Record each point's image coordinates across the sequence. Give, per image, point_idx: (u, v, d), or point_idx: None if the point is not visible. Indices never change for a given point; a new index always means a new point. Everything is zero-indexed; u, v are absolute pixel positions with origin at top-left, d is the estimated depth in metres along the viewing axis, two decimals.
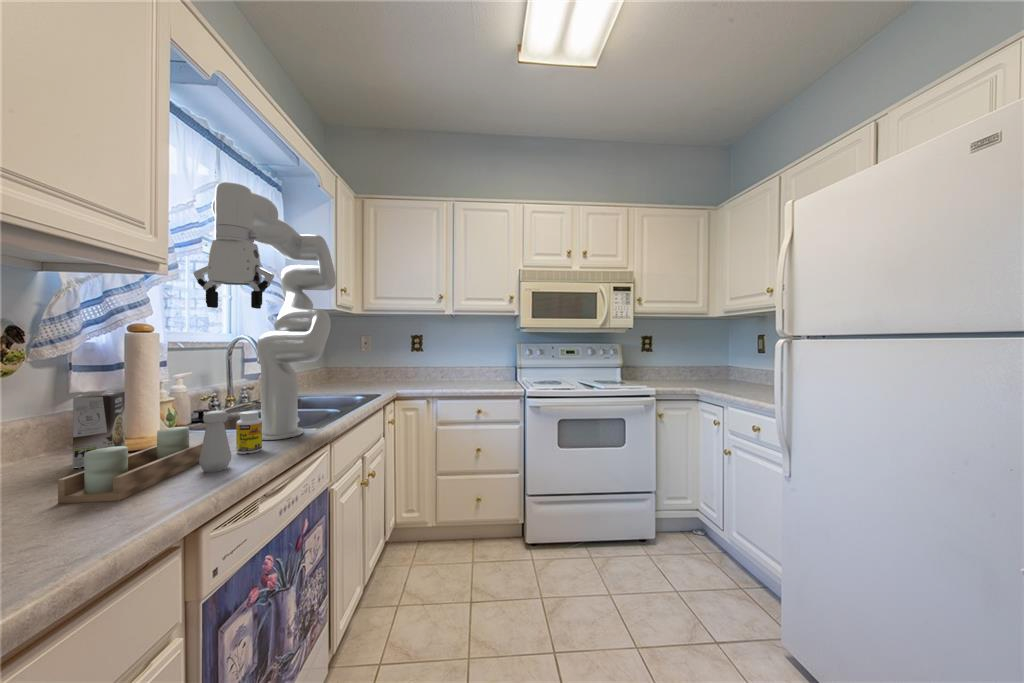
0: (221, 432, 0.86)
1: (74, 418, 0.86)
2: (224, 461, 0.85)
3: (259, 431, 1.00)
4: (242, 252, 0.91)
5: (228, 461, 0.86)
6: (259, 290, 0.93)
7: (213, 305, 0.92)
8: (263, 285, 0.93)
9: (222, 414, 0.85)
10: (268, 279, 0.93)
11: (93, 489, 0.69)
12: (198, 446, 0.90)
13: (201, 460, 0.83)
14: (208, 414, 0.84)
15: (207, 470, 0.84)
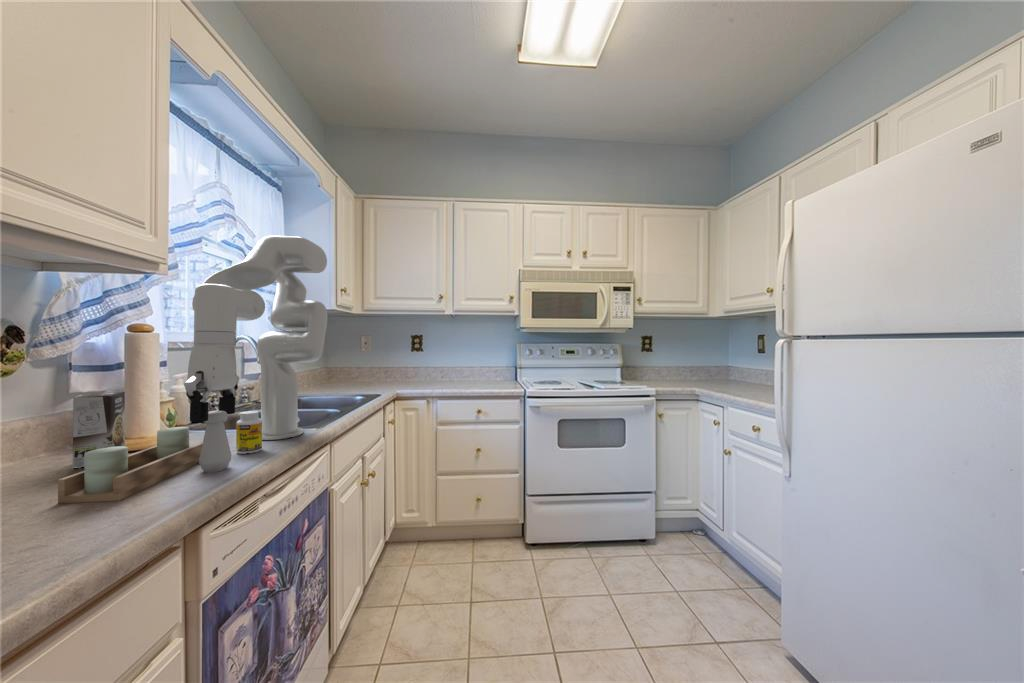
0: (221, 432, 0.86)
1: (74, 418, 0.86)
2: (224, 461, 0.85)
3: (259, 431, 1.00)
4: (233, 358, 0.89)
5: (228, 461, 0.86)
6: None
7: None
8: (235, 389, 0.92)
9: (222, 414, 0.85)
10: (237, 382, 0.93)
11: (93, 489, 0.69)
12: (198, 446, 0.90)
13: (201, 460, 0.83)
14: (208, 414, 0.84)
15: (207, 470, 0.84)
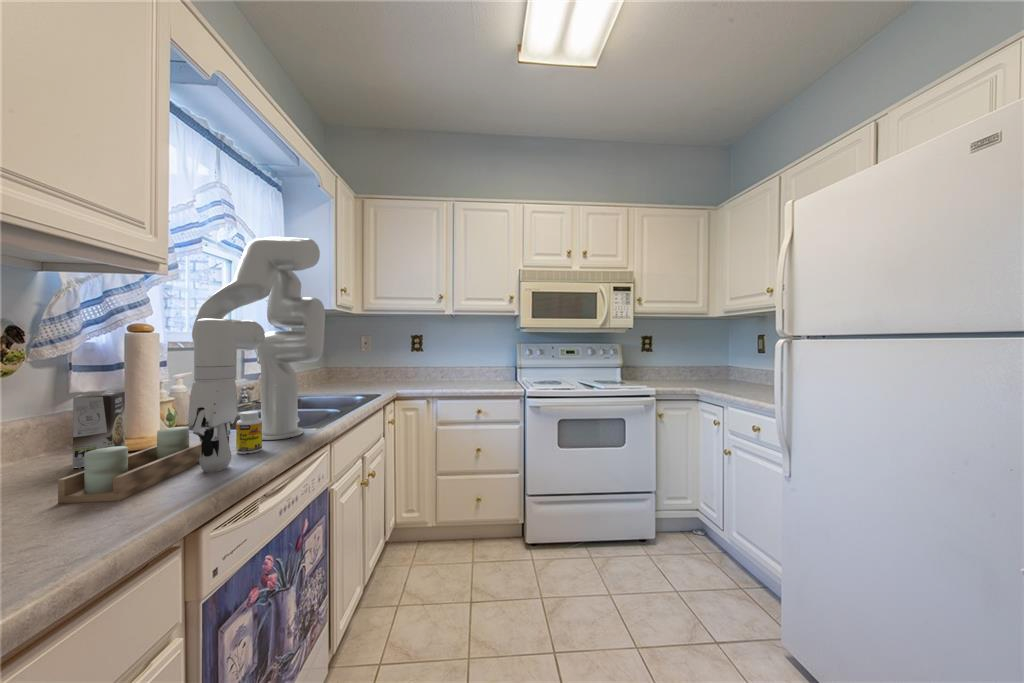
0: (221, 432, 0.86)
1: (74, 418, 0.86)
2: (224, 461, 0.85)
3: (259, 431, 1.00)
4: (234, 390, 0.89)
5: (228, 461, 0.86)
6: None
7: None
8: (229, 427, 0.90)
9: None
10: (232, 422, 0.91)
11: (93, 489, 0.69)
12: (198, 446, 0.90)
13: (201, 460, 0.83)
14: None
15: (207, 470, 0.84)
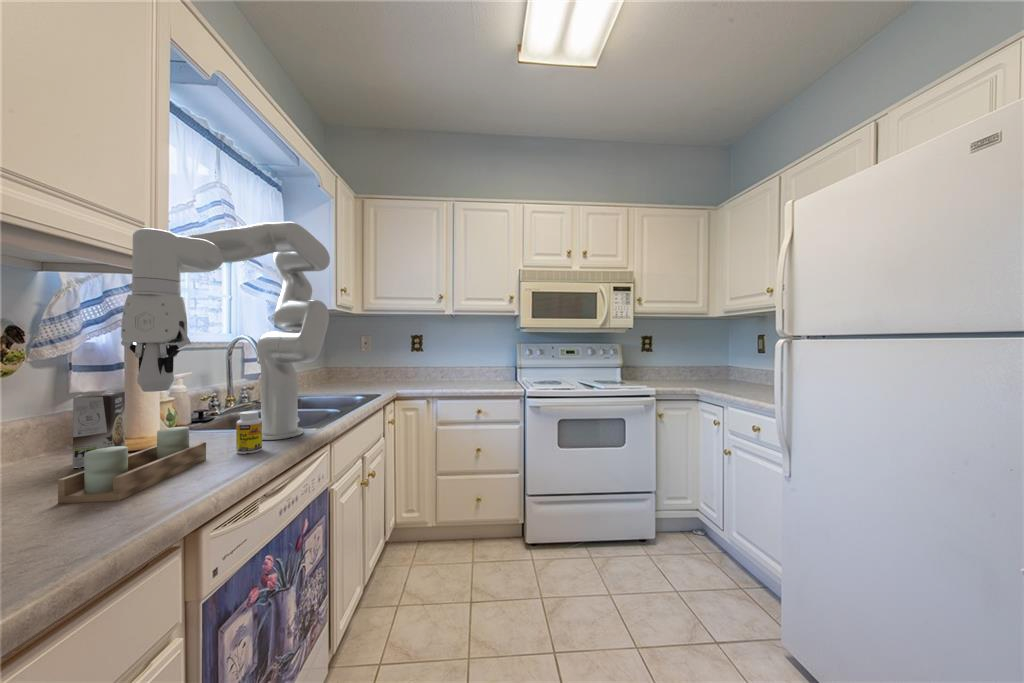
0: None
1: (74, 418, 0.86)
2: None
3: (259, 431, 1.00)
4: None
5: None
6: None
7: None
8: None
9: None
10: None
11: (93, 489, 0.69)
12: (198, 446, 0.90)
13: (162, 377, 0.80)
14: None
15: (164, 388, 0.81)
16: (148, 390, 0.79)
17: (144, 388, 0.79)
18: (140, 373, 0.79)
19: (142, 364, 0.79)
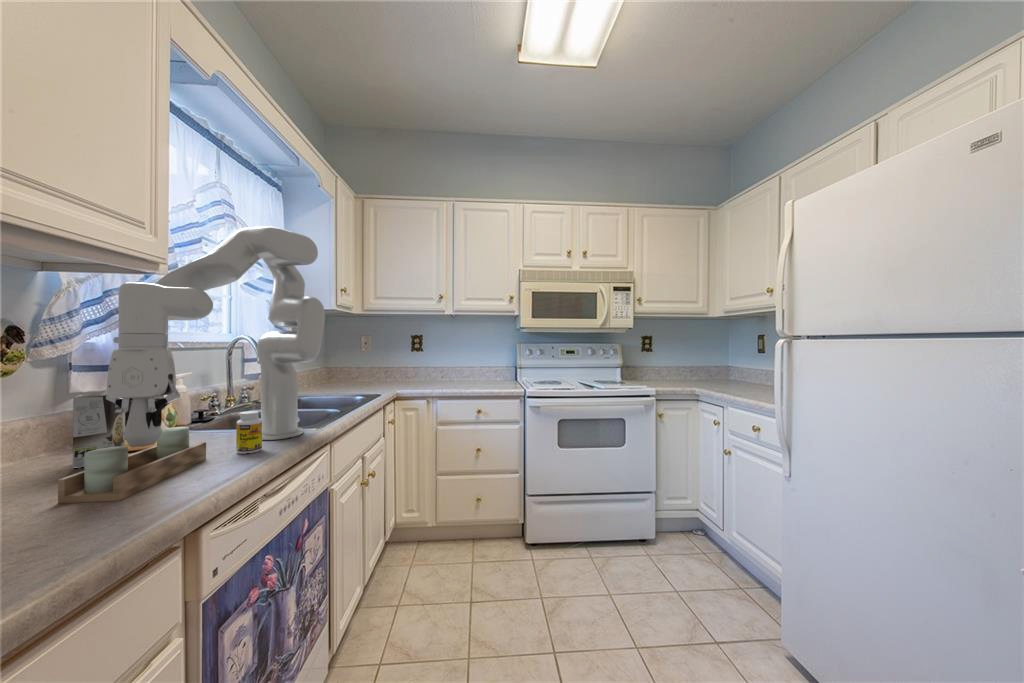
0: None
1: (74, 418, 0.86)
2: None
3: (259, 431, 1.00)
4: None
5: None
6: None
7: None
8: None
9: None
10: None
11: (93, 489, 0.69)
12: (198, 446, 0.90)
13: (150, 432, 0.79)
14: None
15: (152, 442, 0.80)
16: (136, 446, 0.78)
17: (131, 444, 0.78)
18: (127, 429, 0.78)
19: (129, 420, 0.78)
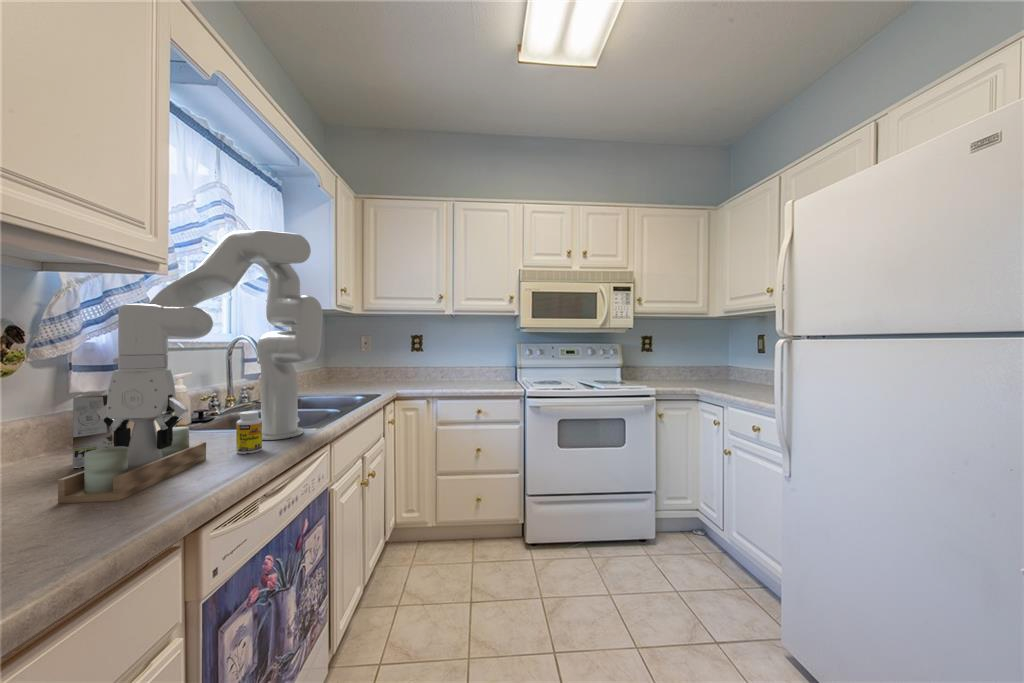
0: None
1: (74, 418, 0.86)
2: None
3: (259, 431, 1.00)
4: None
5: None
6: None
7: None
8: None
9: None
10: None
11: (93, 489, 0.69)
12: (198, 446, 0.90)
13: (151, 459, 0.80)
14: None
15: None
16: None
17: None
18: (128, 457, 0.78)
19: (131, 448, 0.78)
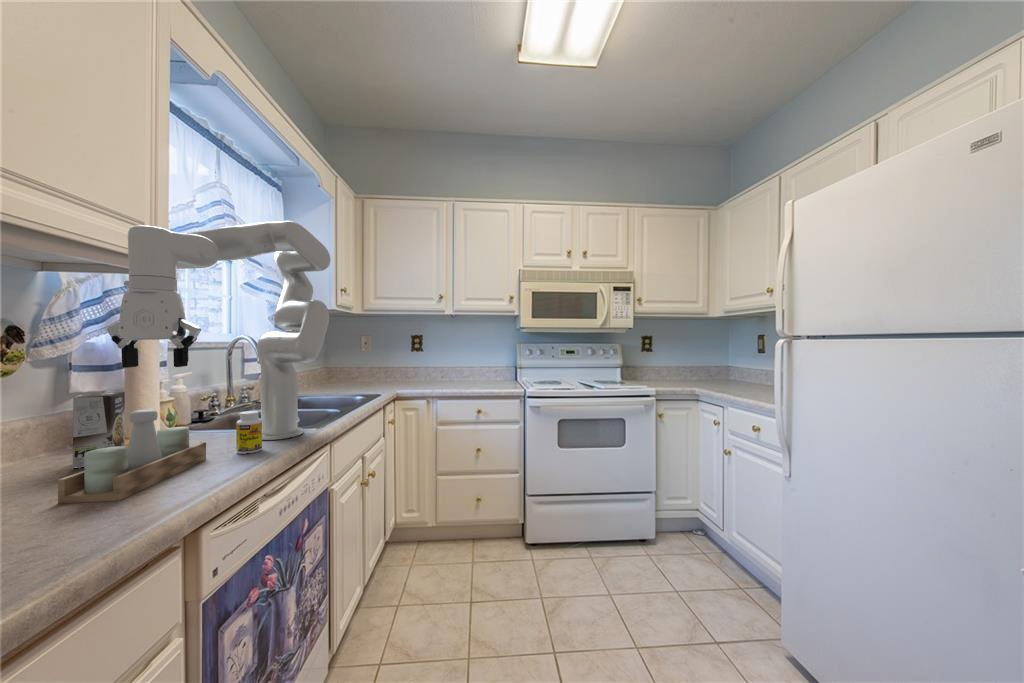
0: None
1: (74, 418, 0.86)
2: None
3: (259, 431, 1.00)
4: None
5: None
6: None
7: None
8: None
9: None
10: None
11: (93, 489, 0.69)
12: (198, 446, 0.90)
13: (151, 460, 0.80)
14: (151, 411, 0.80)
15: None
16: None
17: None
18: (128, 457, 0.78)
19: (130, 448, 0.78)
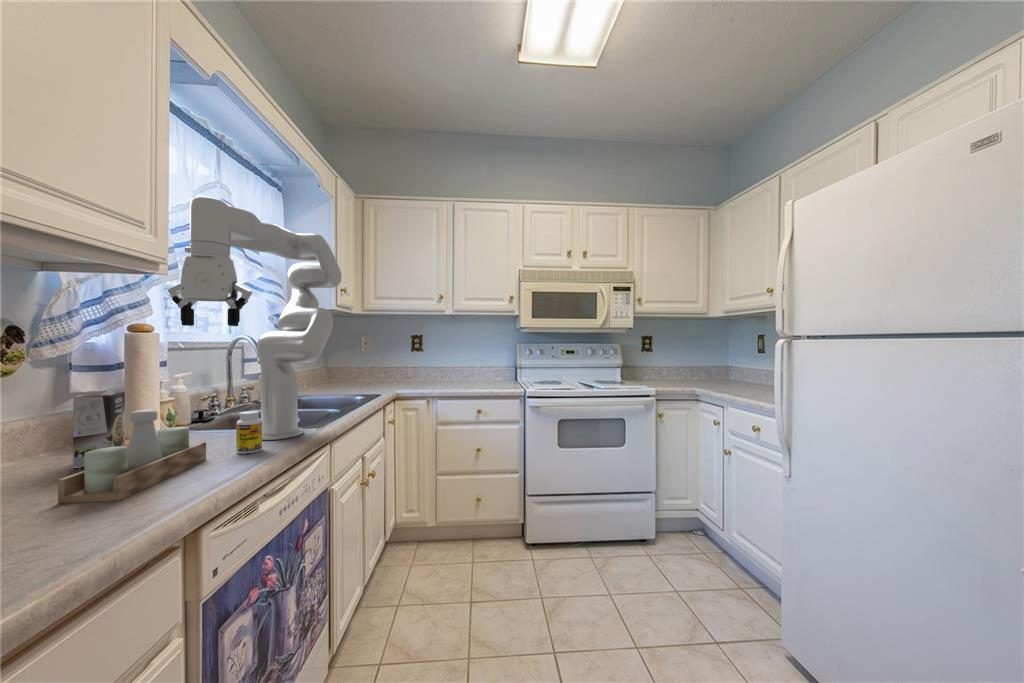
0: None
1: (74, 418, 0.86)
2: None
3: (259, 431, 1.00)
4: None
5: None
6: None
7: None
8: None
9: None
10: None
11: (93, 489, 0.69)
12: (198, 446, 0.90)
13: (151, 460, 0.80)
14: (151, 412, 0.80)
15: None
16: None
17: None
18: (128, 457, 0.78)
19: (130, 448, 0.78)
